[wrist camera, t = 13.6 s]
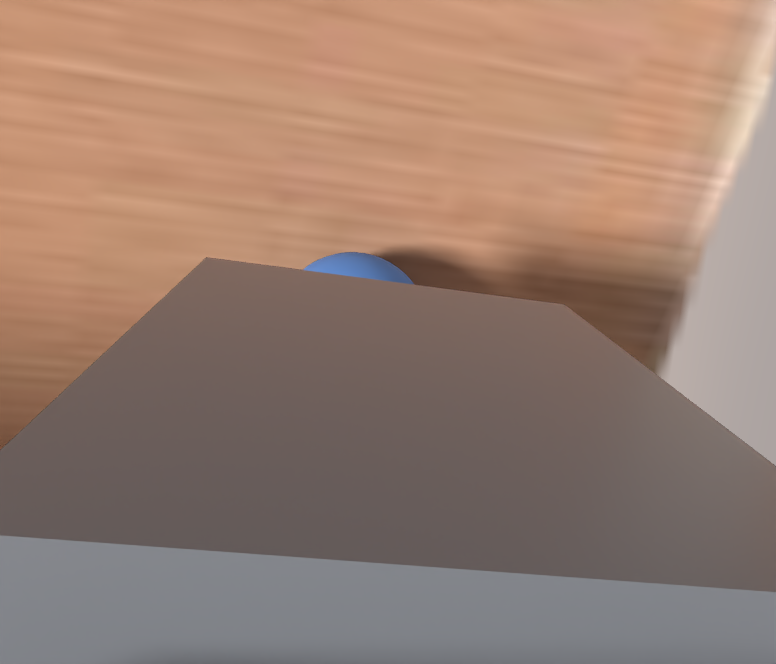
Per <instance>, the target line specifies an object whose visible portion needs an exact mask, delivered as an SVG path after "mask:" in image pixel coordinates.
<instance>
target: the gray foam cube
mask: <svg viewBox="0 0 776 664" xmlns="http://www.w3.org/2000/svg"><path fill="white" fill-rule="evenodd" d="M0 664H776V466H775V465H774V464H772V463H771V462H770V461H768V460H767V459H766V458H764V457H763V456H762V455H761V454H759V453H758V452H756V451H755V450H754V449H753V448H752V447H750V446H749V445H748V444H746V443H745V442H744V441H742V440H741V439H740V438H738V437H737V436H736V435H735V434H733V433H732V432H731V431H729V430H728V429H727V428H725V427H724V426H723V425H721V424H720V423H719V422H718V421H716V420H715V419H714V418H712V417H711V416H710V415H708V414H707V413H706V412H704V411H703V410H702V409H701V408H699V407H698V406H696V405H695V404H694V403H693V402H691V401H690V400H689V399H687V398H686V397H685V396H683V395H682V394H681V393H679V392H678V391H677V390H675V389H674V388H673V387H672V386H670V385H669V384H668V383H667V382H665V381H664V380H663V379H661V378H660V377H659V376H657V375H656V374H655V373H653V372H652V371H651V370H650V369H648V368H647V367H646V366H644V365H643V364H642V363H640V362H639V361H638V360H636V359H635V358H634V357H633V356H631V355H630V354H629V353H627V352H626V351H625V350H623V349H622V348H621V347H619V346H618V345H617V344H616V343H614V342H613V341H612V340H610V339H609V338H608V337H606V336H605V335H604V334H602V333H601V332H600V331H599V330H597V329H596V328H595V327H593V326H592V325H591V324H589V323H588V322H587V321H585V320H584V319H583V318H582V317H580V316H579V315H578V314H576V313H575V312H574V311H572V310H571V309H570V308H568V307H567V306H566V305H565V304H558V303H551V302H543V301H535V300H528V299H520V298H512V297H505V296H497V295H490V294H482V293H474V292H467V291H459V290H452V289H444V288H436V287H429V286H421V285H413V284H406V283H398V282H391V281H383V280H375V279H368V278H360V277H353V276H345V275H337V274H330V273H322V272H315V271H307V270H299V269H292V268H284V267H276V266H269V265H261V264H254V263H246V262H238V261H231V260H223V259H216V258H208V257H206V258H205V259H204V260H203V261H202V262H201V263H200V264H199V265H198V266H197V267H196V268H194V269H193V270H192V271H191V272H190V273H189V274H188V275H187V276H186V277H185V278H184V279H183V280H182V281H181V282H179V283H178V284H177V285H176V286H175V287H174V288H173V289H172V290H171V291H170V292H169V293H168V294H167V295H166V296H165V297H163V298H162V299H161V300H160V301H159V302H158V303H157V304H156V305H155V306H154V307H153V308H152V309H151V310H150V311H149V312H147V313H146V314H145V315H144V316H143V317H142V318H141V319H140V320H139V321H138V322H137V323H136V324H135V325H134V326H132V327H131V328H130V329H129V330H128V331H127V332H126V333H125V334H124V335H123V336H122V337H121V338H120V339H119V340H118V341H116V342H115V343H114V344H113V345H112V346H111V347H110V348H109V349H108V350H107V351H106V352H105V353H104V354H103V355H102V356H100V357H99V358H98V359H97V360H96V361H95V362H94V363H93V364H92V365H91V366H90V367H89V368H88V369H87V370H85V371H84V372H83V373H82V374H81V375H80V376H79V377H78V378H77V379H76V380H75V381H74V382H73V383H72V384H71V385H69V386H68V387H67V388H66V389H65V390H64V391H63V392H62V393H61V394H60V395H59V396H58V397H57V398H56V399H55V400H53V401H52V402H51V403H50V404H49V405H48V406H47V407H46V408H45V409H44V410H43V411H42V412H41V413H40V414H38V415H37V416H36V417H35V418H34V419H33V420H32V421H31V422H30V423H29V424H28V425H27V426H26V427H25V428H24V429H22V430H21V431H20V432H19V433H18V434H17V435H16V436H15V437H14V438H13V439H12V440H11V441H10V442H9V443H8V444H6V445H5V446H4V447H3V448H2V449H1V450H0Z"/></svg>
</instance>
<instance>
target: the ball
mask: <svg viewBox="0 0 776 664" xmlns="http://www.w3.org/2000/svg"><path fill="white" fill-rule="evenodd" d="M303 270H307V271H315V272H322V273H330V274H337V275H345V276H353V277H360V278H368V279H375V280H383V281H391V282H398V283H406V284H413V285H414V283H413V282H412V281H411V280H410V278H409V277H408V276H407V275H406V274H405V273H404V272H403V271H401V270H400V269H399V268H398V267H396V266H395V265H393V264H392V263H390V262H388V261H386V260H384V259H382V258H380V257H377V256H374V255H370V254H366V253H358V252H345V253H338V254H334V255H330V256H327V257H324V258H322V259H319V260H317V261H315V262H313V263H312V264H310V265H308V266H307V267H306V268H305V269H303Z"/></svg>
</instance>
